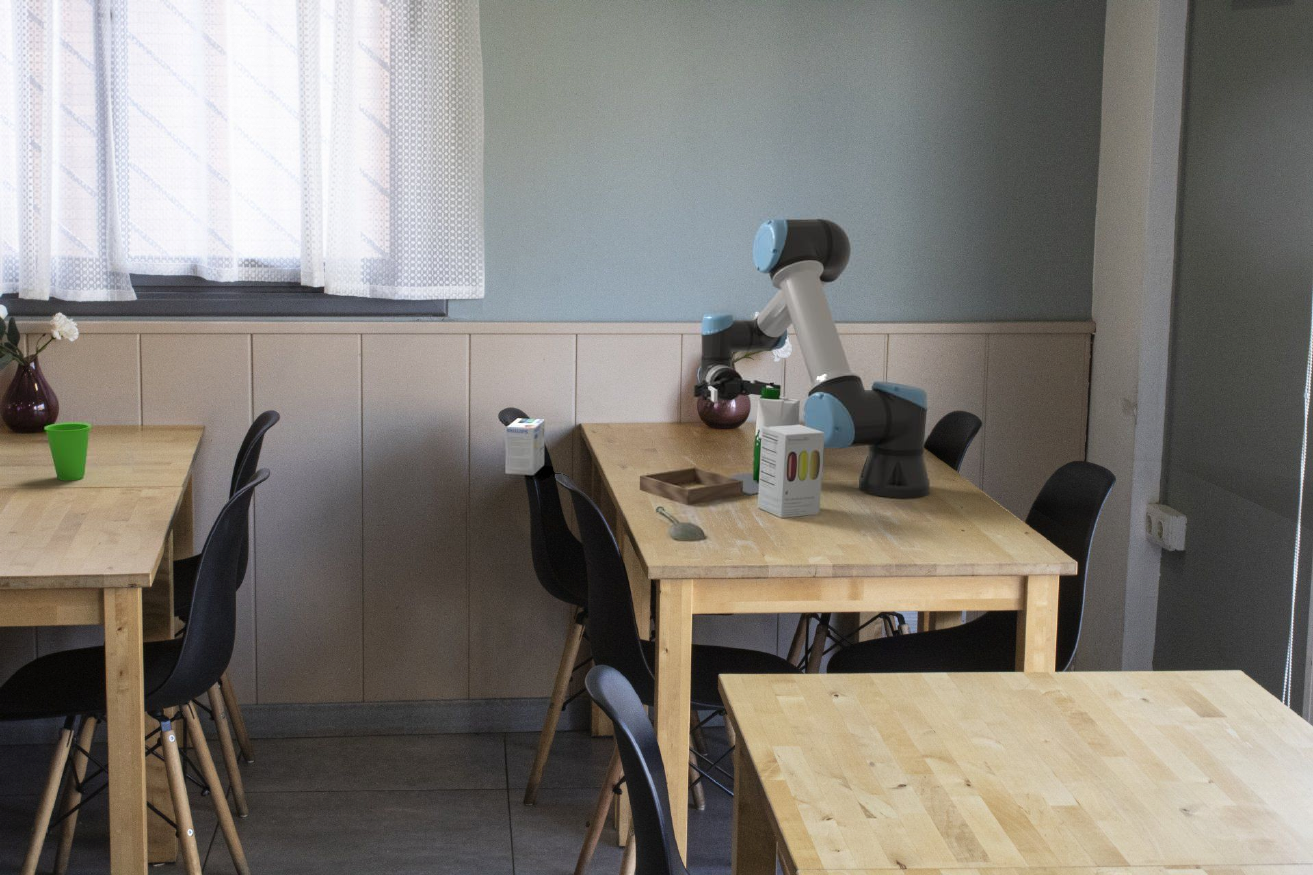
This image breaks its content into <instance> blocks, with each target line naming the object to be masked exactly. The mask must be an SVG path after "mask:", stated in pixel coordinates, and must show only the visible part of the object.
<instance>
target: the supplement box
mask: <svg viewBox="0 0 1313 875" xmlns="http://www.w3.org/2000/svg"><path fill="white" fill-rule="evenodd" d="M824 448H825V447H824V432H822V431H819V430H815V429H812V428H809V427H806V426H805V425H802V424H799V425H790V426H773V427H762V435H761V455H760V475H759V494H757V496H758V498H757V499H758V500H757V508H759V509H761V510H763V511H765V512H767V513H769V514H771V515H774V516H776V517H778V518H780V519H786V518H795V517H796V518H797V517H804V516H814V515H820V509H821V493H822V480H823V479H822V476H823V463H824V462H823V460H824Z"/></svg>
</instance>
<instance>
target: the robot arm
mask: <svg viewBox="0 0 1313 875" xmlns="http://www.w3.org/2000/svg"><path fill="white" fill-rule="evenodd" d="M753 241H754V242H753V245H752V259H753V260H752V261H753V264H754V265H755V268H756V270H757V271H759V272H760V273H762V274H769V277H770V280H771V283H772V286H773V287H774V288H776V289H778V291H777V292H776V293H775V295H774V296H773V297H772V299H771V300H770V301H769V302H768V303H767V304H766V306H765V307H764V308H763V309H762V310H761V312H759V314H758V315H757V317H755V319H754V320H734V316H733V314H731V313H726V312H725V313H724V312H709V313H705V314H704V315H703V317H702V323H701V331H700V332H701V357H700V366H699V367H698V370H697V379H698V382H699V383H697V384H695V385H693V397H694V398H699V397H701V400H702V401H708V399H709V400H710V401H711V402H713V403H718V399H720V400H722V401H732V400H735V399H736V398H738V397H739V396H750V395H754V396H755V395H756V396H761V393H762V388H776V389H780V393H781V389H782V386H781V385H780V384H775V382H764V381H760V380H757V379H754V380H753V381H752V382H751V380H747V379H744V378H743V377H742V376H741V374H740V373H739V372H738V371H736V370H735V369H733V368H732V362H733V352H754V351H755V352H756V351H761V352H763V351H764V352H765V351H766V352H770V351H774V350H780V349H782V348H783V347H784V346H785V345H786V340H787V339H788V329H789V327H790V326H791V325H792V326H793V330H794V332H795V335H796V338H797V342H798V345H799V348H800V351H801V354H802V358H803V361H804V364H805V366H806V370H807V373H808V377H809V380H810V382H811V387H810V389H808V392H807V396H808V397H807V399H806V400H805V403H804V406H803V412H804V414H803V422H804V426H806V427H809V428H812V429H815V430H819V431H822V432H824V447H823V448H827V449H839V450H841V449H846V448H851V447H852V448H853V447H864V446H868V455H867V456H866V459H865V461H864V465H863V467H862V470H861V474H860V475H859V478H858V486H857V487H858V489H859V490H860V491H861V492H864V493H866V494H869V495H874V496H878V497H885V498H899V499H900V498H901V499H903V498H905V499H907V498H908V499H909V498H910V499H911V498H912V499H913V498H920V497H921V498H922V497H925V496H926V495H928V494H929V493H930V487H931V482H930V479H929V477H928V471H927V466H926V462H925V457H924V453H925V452H924V451H925V450H924V449H925V439H926V438H925V437H926V424H927V413H928V412H927V411H928V407H927V406H928V404H927V403H928V396H927V393H926V391H925V389H922V388H920V387H917V386H913V385H910V384H909V385H908V384H902V383H895V382H891V381H890V382H887V381H878V380H877V381H874V382H872V385H871V389H867V390H866V388H865V387H864V383H863V380H862V379H861V376H860V375H858V374H855V373H853V372H852V371H851V368H850V365H849V361H848V359H847V356H846V353H845V350H844V347H843V344H842V341H841V338H840V335H839V332H838V329H837V325H836V322H835V319H834V316H833V314H832V311H831V308H830V305H829V302H828V299H827V296H826V293H825V291H824V290H825V289H824V287H825V286H826V285H827V284H830V283H833V282H835V281H836V280H838V278H839V277H840V276H841V275H842V274H843V272H844V271H845V269H846V267H847V265H848V264H849V262H850V258H851V248H852V247H851V242H850V239H849V236H848V235H847V233H846V231H845V230H844V229H843V228H842V227H841V226H840V225H839V224H837V223H836V222H834V221H831V220H829V219H823V218H817V219H813V218H812V219H809V218H807V219H802V218H801V219H800V218H799V219H795V218H793V219H791V218H790V219H788V218H787V219H786V218H783V217H782V218H776V219H767V220H766V221H765V222H763V223H762V224H761V225H760V227H759V228H758V229H757V232H756V233H755V237H754V240H753Z"/></svg>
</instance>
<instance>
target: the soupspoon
mask: <svg viewBox="0 0 1313 875" xmlns="http://www.w3.org/2000/svg"><path fill="white" fill-rule="evenodd" d="M657 512H659V514H662V515H665V516H666V517H667V518H669V519H670V520H671V521H673V524H672V525H670V526H669V527H668V533H669V534H670V536H671V537H672V539H674V540H676V541H678V542H699V541H703V540H704V539H705V536H706V534H705V531H704V529H702V528H701V527H700V526H699V525H697V524H695V523H692V522H687V521H686V522H685V521H684V522H683V521H682V522H681V521H679V519H677V517H675V516H673V515H671V514H670V513H669V512H668V511H666V509H665V508H664V506H662V505H661V506H657V507H656V508H655V513H657Z"/></svg>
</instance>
